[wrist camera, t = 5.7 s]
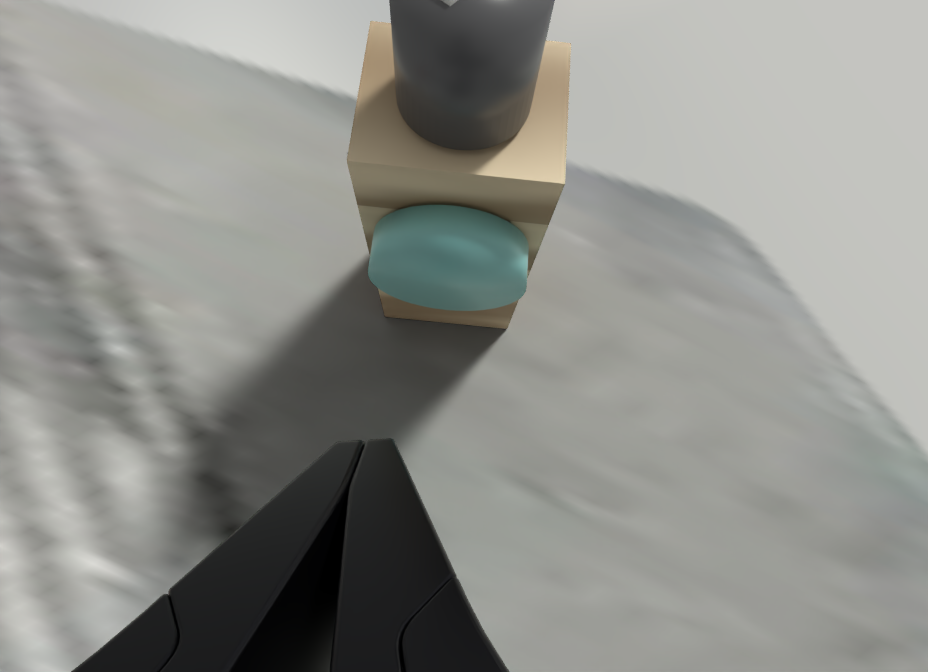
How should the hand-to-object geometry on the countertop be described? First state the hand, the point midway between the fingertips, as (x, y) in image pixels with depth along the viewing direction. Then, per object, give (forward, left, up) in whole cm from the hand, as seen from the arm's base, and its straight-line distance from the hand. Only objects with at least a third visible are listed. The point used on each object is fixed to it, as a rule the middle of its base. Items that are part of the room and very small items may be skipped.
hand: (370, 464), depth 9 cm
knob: (+8, -2, -8) cm, 12 cm away
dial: (+9, -2, -3) cm, 9 cm away
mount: (+9, -2, -14) cm, 16 cm away
